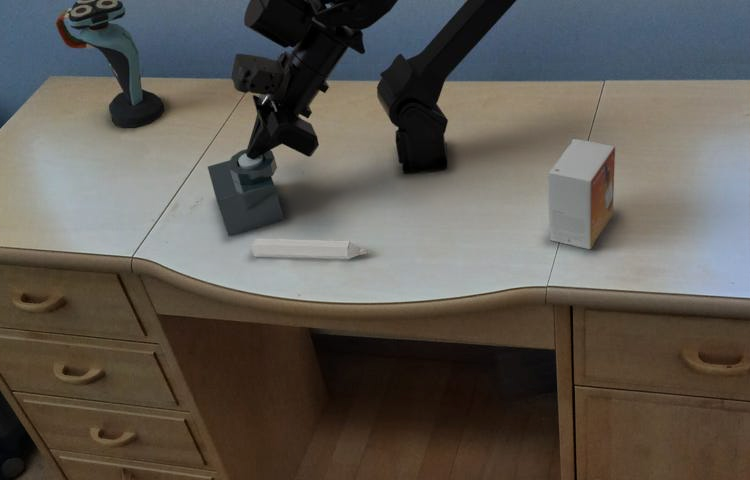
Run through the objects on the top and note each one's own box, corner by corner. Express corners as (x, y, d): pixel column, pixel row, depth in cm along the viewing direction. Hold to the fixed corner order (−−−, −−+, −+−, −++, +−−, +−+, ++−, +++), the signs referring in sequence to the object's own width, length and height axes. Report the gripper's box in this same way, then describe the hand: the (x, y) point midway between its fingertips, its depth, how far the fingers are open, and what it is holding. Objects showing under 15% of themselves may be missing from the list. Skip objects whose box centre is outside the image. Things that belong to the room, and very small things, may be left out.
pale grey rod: (372, 262, 121) (257, 258, 125) (374, 247, 121) (259, 243, 125) (367, 255, 118) (250, 251, 122) (369, 240, 119) (252, 236, 123)
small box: (590, 251, 115) (590, 182, 108) (548, 240, 118) (546, 172, 110) (614, 214, 120) (616, 145, 112) (573, 204, 122) (573, 137, 115)
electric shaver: (159, 124, 153) (118, 11, 140) (91, 133, 155) (44, 21, 141) (169, 96, 160) (130, -15, 146) (104, 104, 161) (59, -5, 148)
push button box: (279, 184, 136) (267, 137, 130) (292, 218, 129) (279, 170, 124) (219, 201, 135) (203, 155, 129) (228, 236, 128) (213, 190, 123)
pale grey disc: (263, 161, 129) (260, 148, 128) (268, 173, 127) (264, 161, 125) (240, 167, 129) (236, 155, 127) (244, 180, 126) (240, 168, 125)
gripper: (246, 4, 122) (188, 99, 128) (273, 65, 109) (206, 169, 115) (314, 43, 128) (256, 132, 135) (348, 106, 115) (281, 202, 121)
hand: (249, 156), depth 126 cm, fingers closed, pressing on pale grey disc
